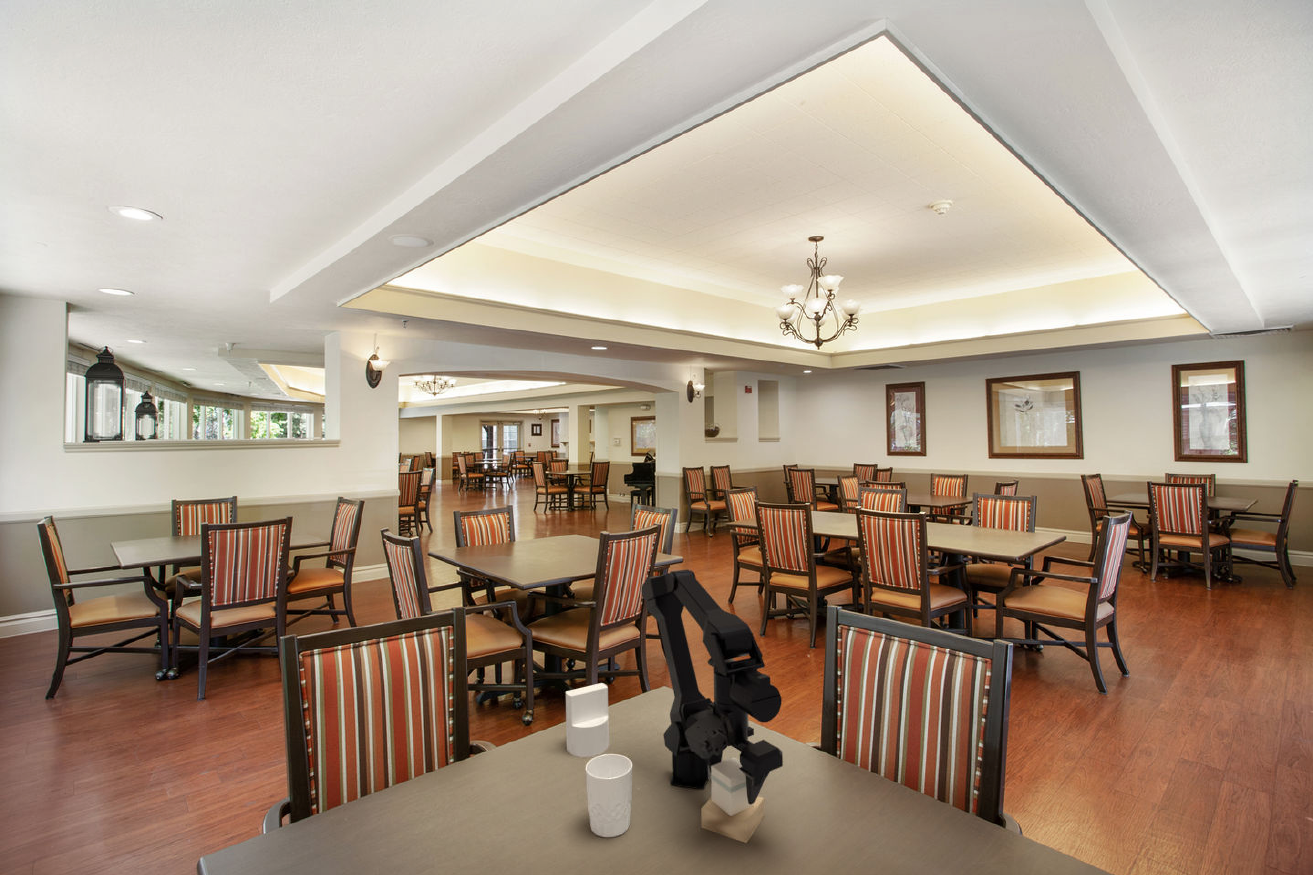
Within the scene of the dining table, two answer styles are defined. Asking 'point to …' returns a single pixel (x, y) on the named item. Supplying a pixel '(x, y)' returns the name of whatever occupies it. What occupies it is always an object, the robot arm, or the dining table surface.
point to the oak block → (733, 820)
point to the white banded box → (729, 786)
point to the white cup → (609, 794)
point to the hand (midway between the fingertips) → (732, 790)
